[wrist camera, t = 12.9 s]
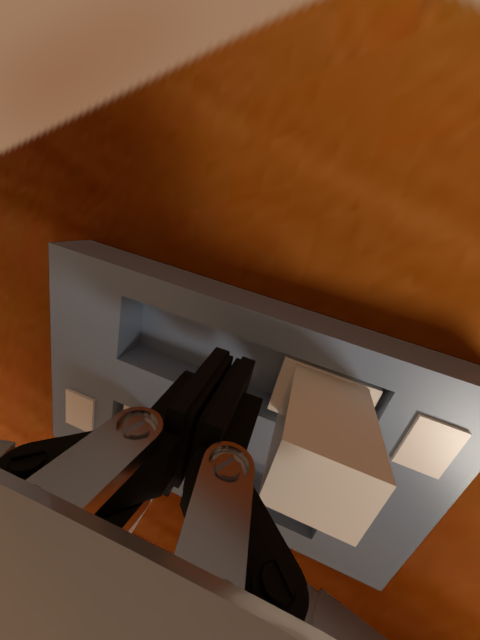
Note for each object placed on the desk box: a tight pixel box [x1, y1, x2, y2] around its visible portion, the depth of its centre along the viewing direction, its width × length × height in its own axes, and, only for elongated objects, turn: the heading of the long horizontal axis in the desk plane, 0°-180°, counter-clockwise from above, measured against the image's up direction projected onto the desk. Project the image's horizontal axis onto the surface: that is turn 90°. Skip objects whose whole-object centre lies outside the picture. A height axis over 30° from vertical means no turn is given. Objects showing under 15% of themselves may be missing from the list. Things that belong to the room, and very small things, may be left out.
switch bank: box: [49, 240, 480, 591], centre depth 14 cm, size 20×12×3 cm, turn 76°
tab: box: [259, 354, 397, 547], centre depth 10 cm, size 4×3×6 cm
